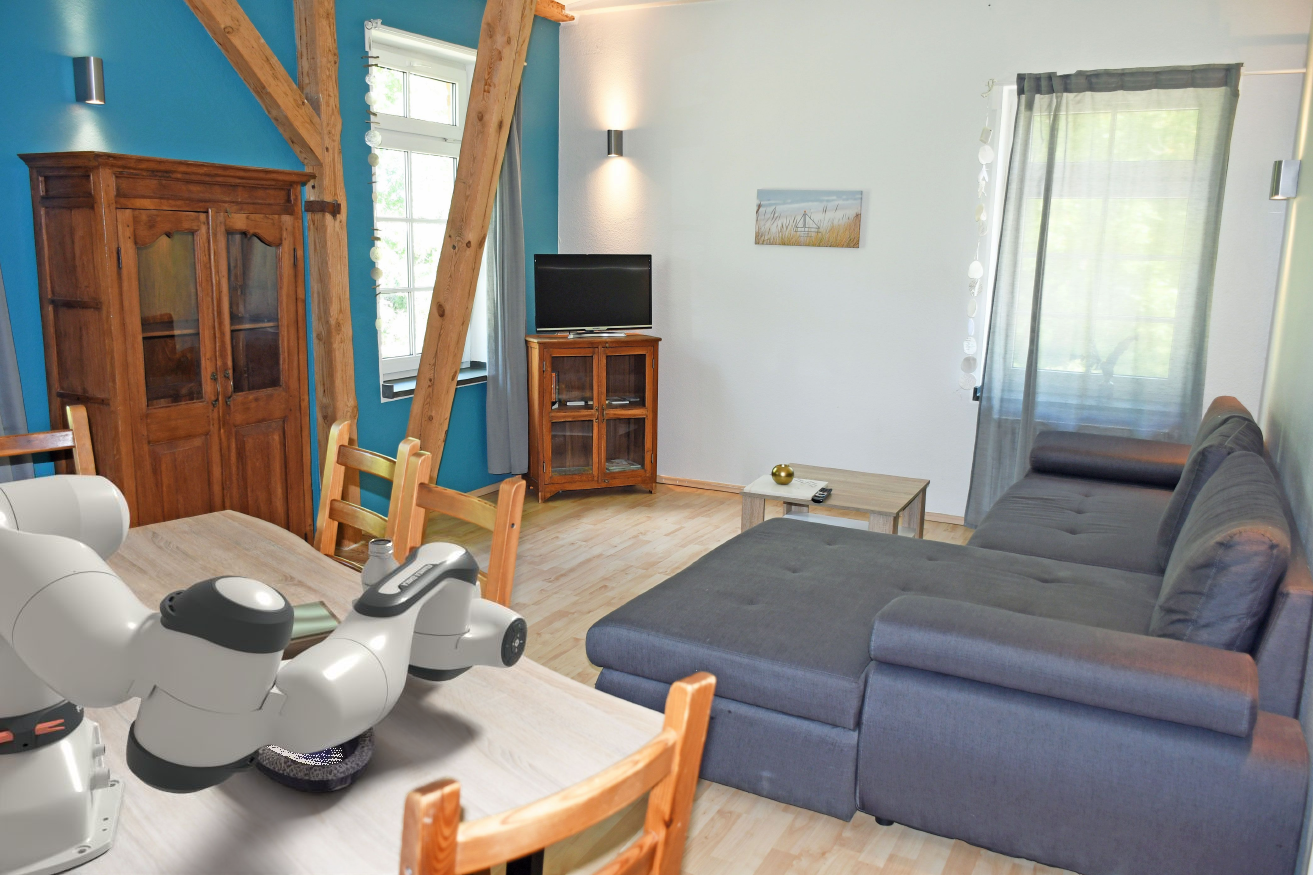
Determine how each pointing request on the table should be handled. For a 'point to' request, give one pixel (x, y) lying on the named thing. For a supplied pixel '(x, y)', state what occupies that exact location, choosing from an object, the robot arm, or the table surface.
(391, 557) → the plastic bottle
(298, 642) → the walnut stand
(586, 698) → the table surface
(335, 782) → the dish
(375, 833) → the table surface
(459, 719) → the table surface
